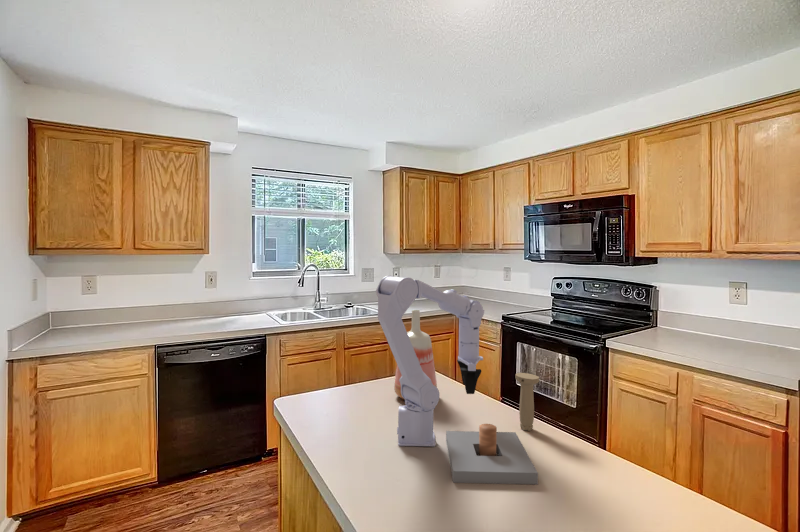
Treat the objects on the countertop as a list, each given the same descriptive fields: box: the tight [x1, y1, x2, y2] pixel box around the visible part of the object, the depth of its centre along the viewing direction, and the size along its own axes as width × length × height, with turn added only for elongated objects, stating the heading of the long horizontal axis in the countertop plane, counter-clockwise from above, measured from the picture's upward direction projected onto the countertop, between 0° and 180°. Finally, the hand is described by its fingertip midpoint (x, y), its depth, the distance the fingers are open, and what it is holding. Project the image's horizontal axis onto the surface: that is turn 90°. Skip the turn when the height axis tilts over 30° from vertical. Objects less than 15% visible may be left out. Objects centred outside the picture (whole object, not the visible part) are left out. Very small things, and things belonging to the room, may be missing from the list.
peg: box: [478, 423, 498, 456], centre depth 99 cm, size 4×4×8 cm
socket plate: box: [445, 430, 539, 485], centre depth 100 cm, size 18×20×2 cm
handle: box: [515, 372, 540, 432], centre depth 117 cm, size 5×6×15 cm
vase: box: [393, 309, 438, 401], centre depth 142 cm, size 14×14×30 cm
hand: (468, 389), depth 119 cm, fingers open, 7 cm apart
